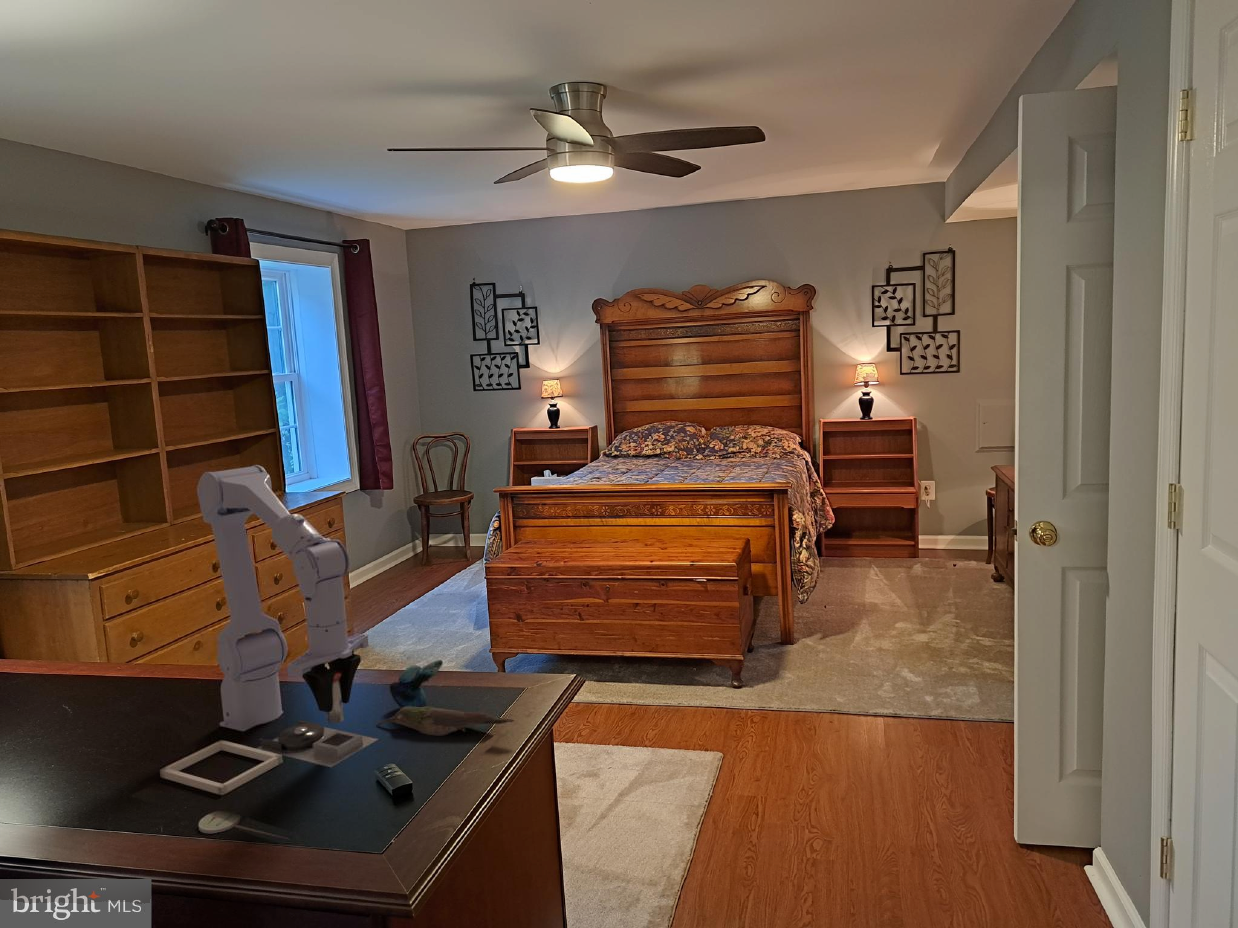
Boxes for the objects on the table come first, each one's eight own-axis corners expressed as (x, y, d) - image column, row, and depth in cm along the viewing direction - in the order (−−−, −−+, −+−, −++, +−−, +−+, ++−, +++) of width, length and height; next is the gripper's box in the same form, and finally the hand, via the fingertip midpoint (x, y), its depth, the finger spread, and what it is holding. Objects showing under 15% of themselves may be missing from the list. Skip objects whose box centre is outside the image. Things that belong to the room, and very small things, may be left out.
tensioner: (257, 755, 137) (255, 737, 137) (306, 729, 146) (304, 712, 146) (331, 774, 130) (329, 755, 130) (378, 746, 139) (377, 728, 138)
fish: (441, 721, 147) (437, 664, 146) (386, 718, 149) (381, 662, 148) (451, 710, 151) (447, 655, 150) (397, 708, 153) (393, 653, 152)
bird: (520, 734, 141) (518, 705, 140) (508, 749, 136) (506, 718, 135) (380, 725, 147) (377, 696, 146) (364, 738, 142) (361, 709, 141)
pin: (320, 722, 134) (315, 673, 133) (335, 714, 137) (331, 666, 136) (335, 725, 133) (330, 676, 132) (350, 717, 136) (346, 669, 135)
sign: (275, 848, 111) (189, 825, 116) (276, 854, 111) (190, 831, 117) (305, 826, 115) (221, 806, 121) (305, 832, 115) (221, 811, 121)
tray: (161, 784, 129) (159, 769, 129) (223, 753, 139) (221, 739, 138) (223, 802, 123) (221, 787, 123) (283, 769, 132) (281, 755, 132)
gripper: (308, 639, 125) (317, 729, 127) (379, 610, 137) (386, 692, 139) (273, 633, 128) (282, 721, 130) (346, 605, 141) (353, 686, 143)
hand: (334, 706), depth 135 cm, fingers closed on pin, 3 cm apart
